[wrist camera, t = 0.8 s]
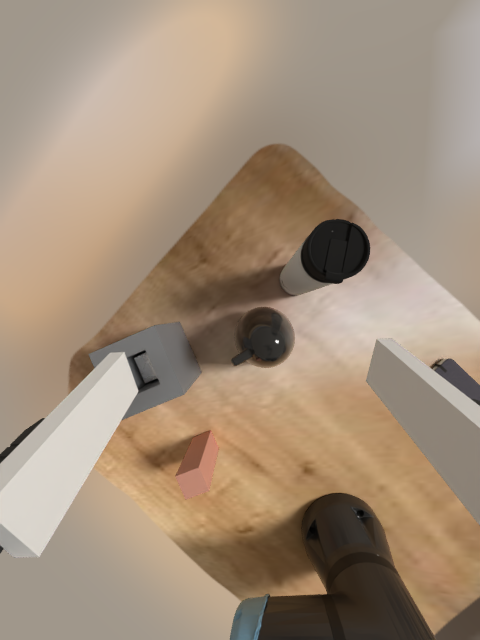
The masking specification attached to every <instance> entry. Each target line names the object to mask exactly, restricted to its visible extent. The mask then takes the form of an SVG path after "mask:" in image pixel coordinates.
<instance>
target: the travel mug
mask: <svg viewBox="0 0 480 640" xmlns="http://www.w3.org/2000/svg"><path fill="white" fill-rule="evenodd" d="M369 255H370V243H369V240H368V237H367V235H366V233H365V232H364V231H363V229H362V228H361V227H360V226H358V225H356V224H354V223H350V222H349V221H346V220H341V219H336V220H334V219H333V220H327V221H324V222H322V223H320V224H319V225H318V226H317V227H316V228H315V229H314V230H313V231H312V233H311V234H310V235H309V236H308V237H307V238H306V240H305V241H304V242H303V243H302V245H301V246H300V247H299V249H298V250H297V251H296V253H295V254H294V255H293V257H292V258H291V259H290V260H289V262H288V263H287V264H286V266H285V267H284V268H283V270H282V271H281V274H280V285H281V287H282V288H283V290H284V291H285V292H287V293H288V294H291V295H301V294H304V293H307V292H310V291H313V290H316V289H319V288H322V287H325V286H327V285H330V284H339V283H342V282H343V279H346V278H349V277H352V276H354V275H356V274H357V273H359V272H360V271H361V270H362V269H363V268H364V266H365V265H366V263H367V261H368V259H369Z"/></svg>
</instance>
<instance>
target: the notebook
mask: <svg viewBox="0 0 480 640" xmlns="http://www.w3.org/2000/svg"><path fill="white" fill-rule="evenodd" d="M434 366H435V367H434V368H433V369H432V370H434V371H435V372H436V373H438V374H439V375H440V376H441V377H443V378H444V379H445V380H447V381H448V382H449V383H451V384H452V385H453V386H454V387H456V388H457V389H458V390H460V391H461V392H462V393H464V394H465V395H466V396H467V397H469V398H470V399H476V400H478V401H480V385H479V384H478V383H477V382H476V381H475V380H474V379H473V378H471V377H470V376H469V375H468V374H467V373H466V372H465V371H464V370H463V369H462V368H461V367H460V366H459V365H458V364H457V363H456V362H455V361H454V360H452V359H443V360H441V361H440V362H439V363H438V364H435V365H434Z"/></svg>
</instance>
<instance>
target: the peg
mask: <svg viewBox="0 0 480 640" xmlns="http://www.w3.org/2000/svg"><path fill="white" fill-rule="evenodd" d="M218 450H219V447H218V445H217V443H216V440H215V438H214V436H213V434H212V431H211V430H210V431H208V432H205V433H203V434H200V435H198V436H195V437H193V439H192V441H191V443H190V445H189V447H188V450H187V452H186V454H185V456H184V458H183V461H182V463H181V465H180V467H179V469H178V472H177V474H176V476H175V477H176V479H177V481H178V484H179V486H180V488H181V490H182V493H183V495H184V497H185V499H189V498H192V497H194V496H197V495H200V494H202V493H205V492H208V491H209V489H210V485H211V481H212V476H213V472H214V467H215V463H216V459H217V454H218Z"/></svg>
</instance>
